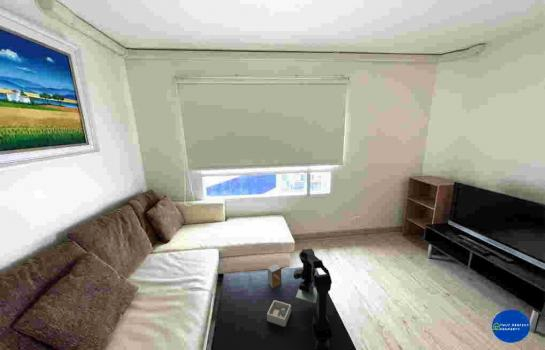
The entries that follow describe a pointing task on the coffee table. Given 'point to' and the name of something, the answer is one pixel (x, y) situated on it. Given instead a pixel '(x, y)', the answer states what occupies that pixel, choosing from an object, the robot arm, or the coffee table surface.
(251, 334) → the coffee table surface
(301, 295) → the lid
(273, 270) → the small box
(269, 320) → the storage box
